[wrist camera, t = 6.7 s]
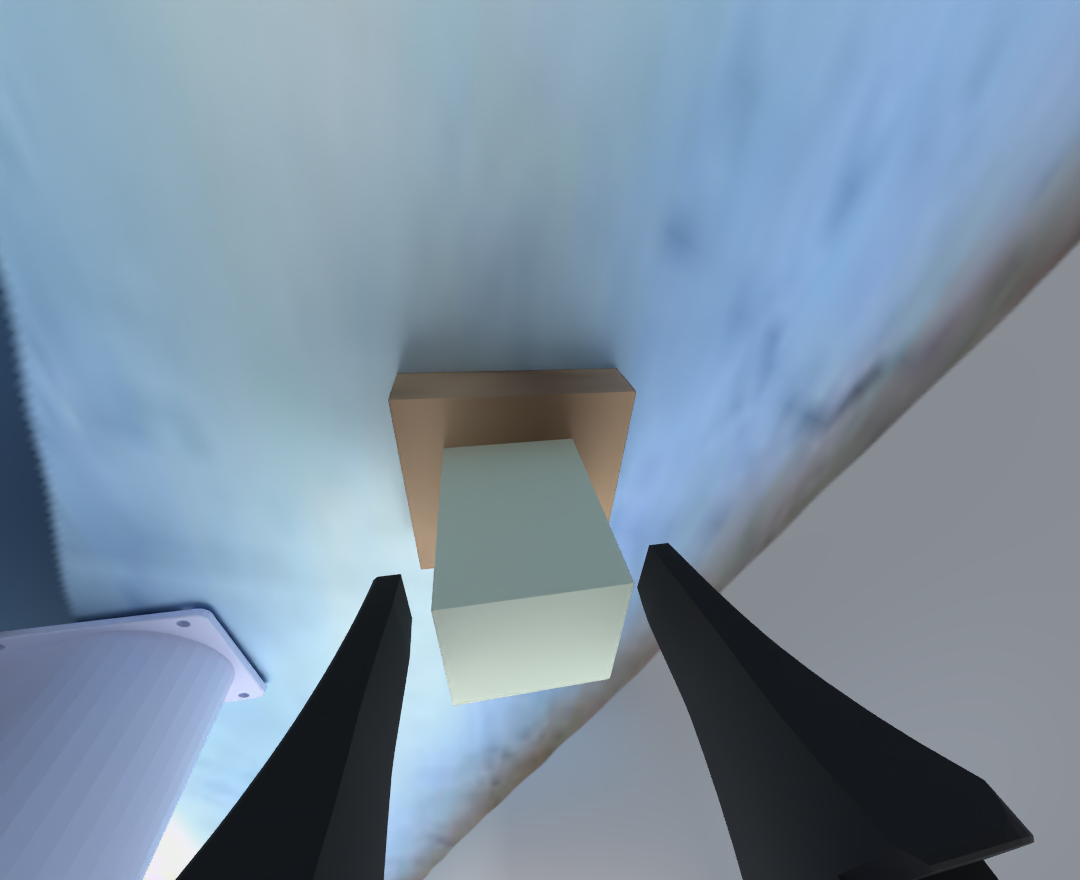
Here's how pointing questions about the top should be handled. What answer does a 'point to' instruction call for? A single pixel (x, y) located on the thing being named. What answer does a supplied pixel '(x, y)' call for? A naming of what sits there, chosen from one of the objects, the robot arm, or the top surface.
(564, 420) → the walnut base block
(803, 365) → the top surface
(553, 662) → the sage block
